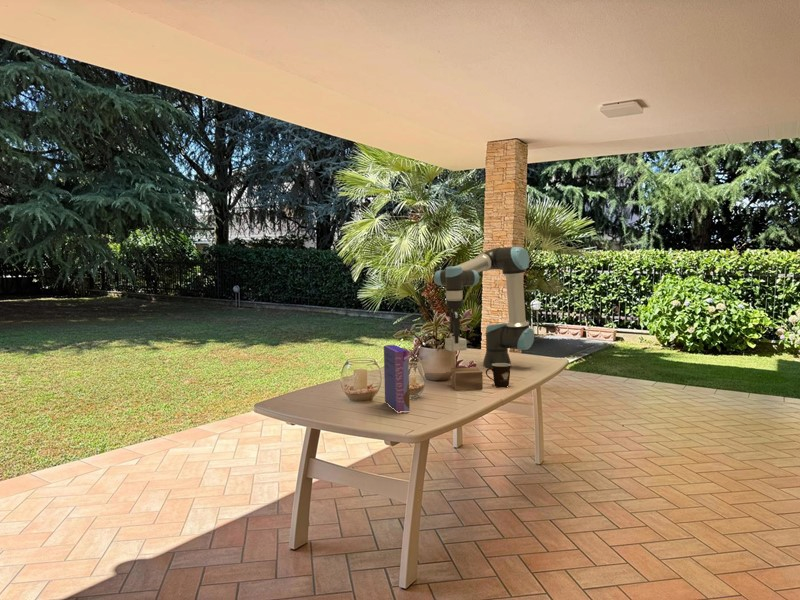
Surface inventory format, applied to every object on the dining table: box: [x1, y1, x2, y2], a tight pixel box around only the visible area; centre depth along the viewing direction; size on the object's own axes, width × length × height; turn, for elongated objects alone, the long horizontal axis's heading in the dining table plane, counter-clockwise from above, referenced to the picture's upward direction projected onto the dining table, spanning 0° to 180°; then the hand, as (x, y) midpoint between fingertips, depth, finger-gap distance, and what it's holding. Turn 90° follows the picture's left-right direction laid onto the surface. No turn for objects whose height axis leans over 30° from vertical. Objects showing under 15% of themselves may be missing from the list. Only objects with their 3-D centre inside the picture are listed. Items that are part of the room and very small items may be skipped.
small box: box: [444, 337, 467, 352], centre depth 257 cm, size 8×8×5 cm
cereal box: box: [383, 344, 411, 412], centre depth 221 cm, size 17×5×24 cm, turn 18°
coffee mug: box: [485, 363, 512, 388], centre depth 256 cm, size 12×9×10 cm
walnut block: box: [451, 366, 484, 392], centre depth 255 cm, size 12×12×8 cm
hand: (455, 348), depth 257 cm, fingers closed on small box, 9 cm apart
